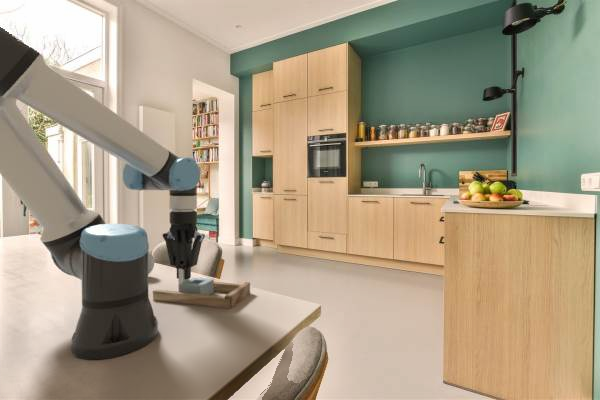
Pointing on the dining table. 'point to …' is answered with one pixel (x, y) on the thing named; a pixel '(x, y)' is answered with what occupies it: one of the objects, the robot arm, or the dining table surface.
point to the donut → (150, 262)
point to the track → (228, 301)
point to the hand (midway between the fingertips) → (183, 289)
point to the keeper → (197, 286)
